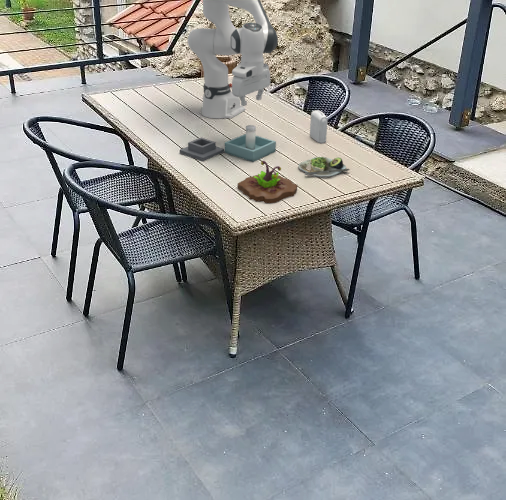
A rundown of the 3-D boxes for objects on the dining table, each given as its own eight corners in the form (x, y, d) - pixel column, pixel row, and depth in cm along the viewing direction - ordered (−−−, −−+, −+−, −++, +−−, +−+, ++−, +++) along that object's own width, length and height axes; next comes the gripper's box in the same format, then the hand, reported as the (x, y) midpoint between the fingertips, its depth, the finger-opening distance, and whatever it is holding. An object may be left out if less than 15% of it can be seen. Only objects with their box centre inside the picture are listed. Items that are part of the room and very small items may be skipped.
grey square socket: (201, 144, 277) (200, 134, 274) (224, 152, 270) (224, 141, 268) (179, 153, 268) (179, 142, 266) (203, 161, 261) (203, 150, 259)
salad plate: (320, 185, 245) (321, 173, 242) (287, 170, 256) (287, 159, 254) (354, 172, 256) (355, 161, 254) (320, 158, 267) (321, 147, 265)
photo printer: (308, 135, 289) (310, 108, 283) (317, 134, 290) (319, 107, 284) (318, 143, 281) (320, 116, 274) (327, 142, 282) (329, 115, 276)
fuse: (249, 147, 272) (250, 124, 267) (257, 149, 270) (257, 126, 265) (243, 150, 270) (243, 126, 265) (251, 152, 268) (251, 129, 262)
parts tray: (247, 143, 279) (247, 132, 277) (275, 151, 272) (276, 141, 269) (224, 152, 269) (224, 142, 267) (253, 162, 261) (253, 151, 259)
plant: (269, 175, 251) (270, 148, 246) (305, 192, 239) (307, 163, 233) (228, 189, 240) (228, 160, 234) (264, 207, 227) (265, 178, 222)
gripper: (262, 60, 261) (261, 94, 269) (229, 71, 248) (229, 107, 255) (274, 63, 258) (273, 97, 265) (242, 74, 244) (241, 110, 251)
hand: (251, 102), depth 260 cm, fingers open, 8 cm apart
